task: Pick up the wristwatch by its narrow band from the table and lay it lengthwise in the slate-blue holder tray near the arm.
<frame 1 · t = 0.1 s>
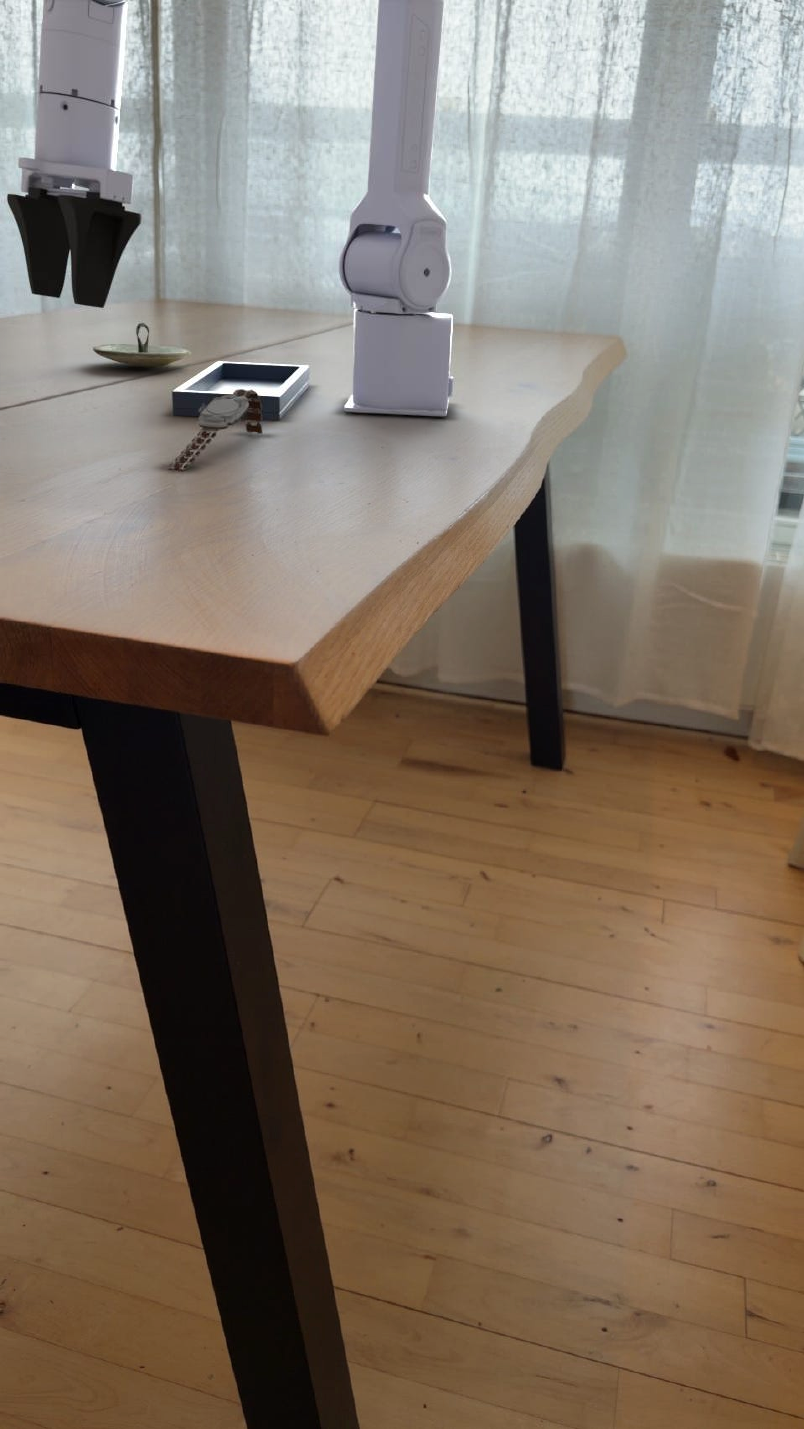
hand: (66, 301, 87), 10 cm above the table, tool pointing down, fingers open, 7 cm apart
wristwatch: (216, 453, 89), on the table
lid: (135, 371, 127), on the table
holder: (246, 399, 110), on the table
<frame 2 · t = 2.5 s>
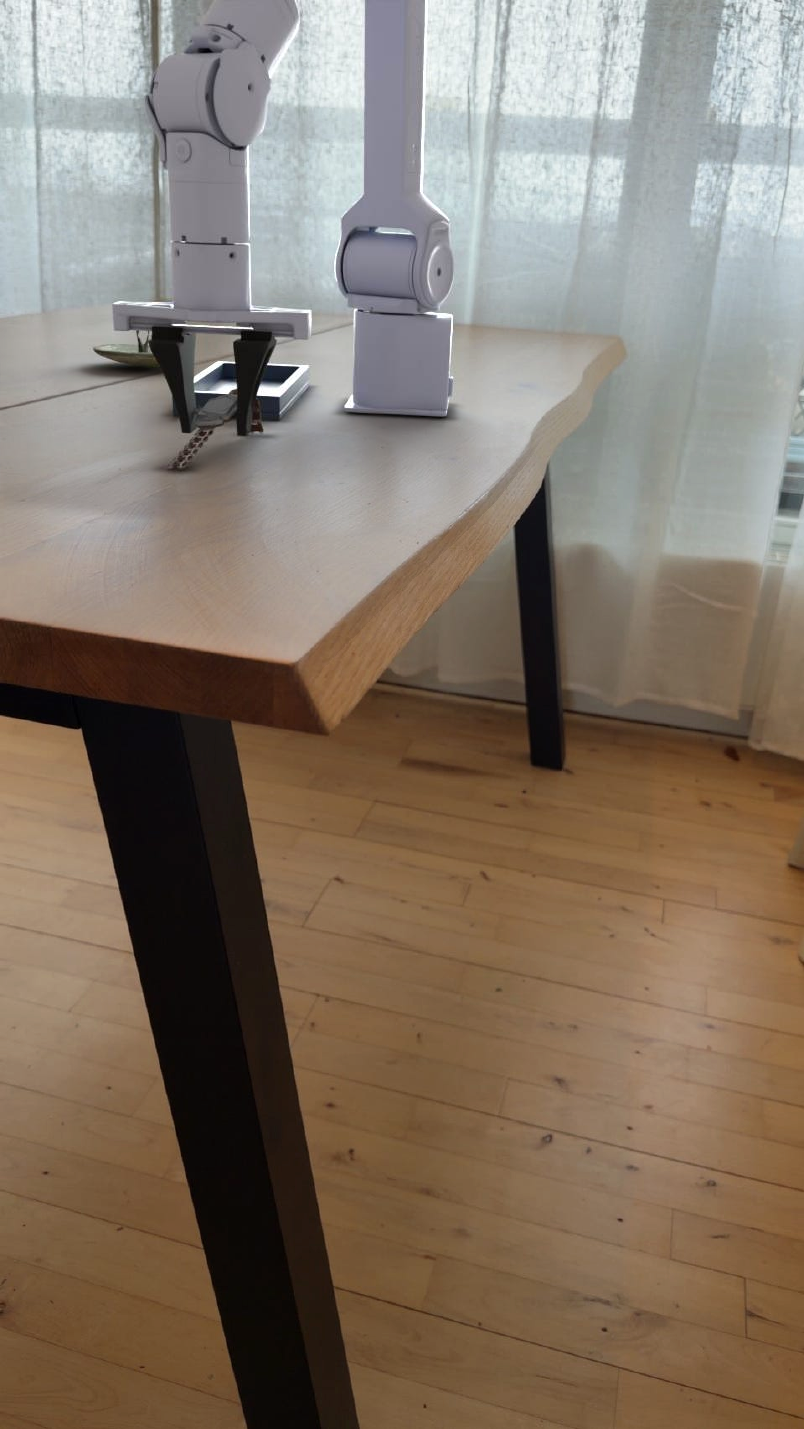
hand: (216, 432, 88), 1 cm above the table, tool pointing down, fingers closed on wristwatch, 4 cm apart
wristwatch: (217, 453, 89), on the table, touching gripper
everything else where it was.
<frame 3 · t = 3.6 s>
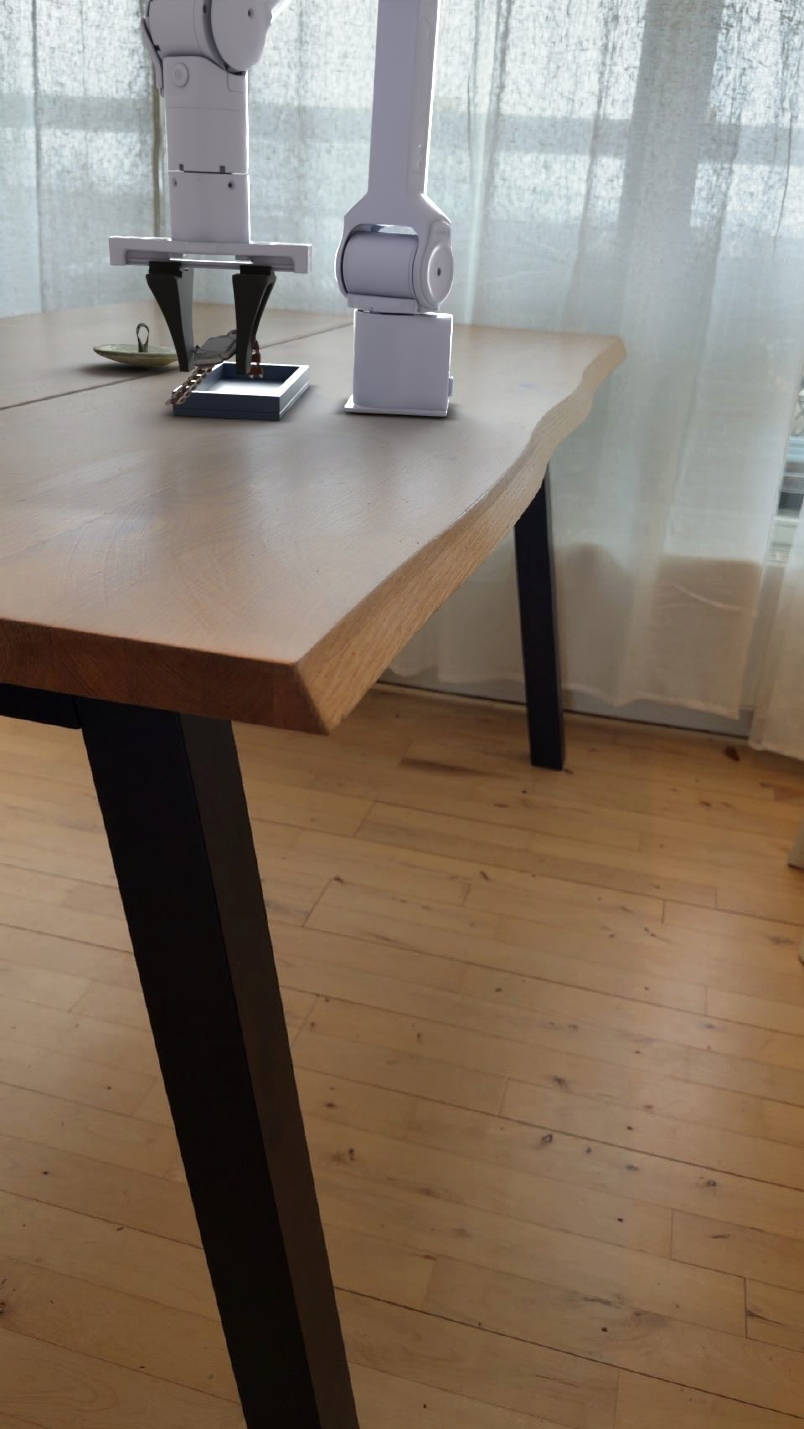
hand: (214, 371, 87), 6 cm above the table, tool pointing down, fingers closed on wristwatch, 4 cm apart
wristwatch: (216, 393, 87), point 4 cm above the table, touching gripper
everything else where it was.
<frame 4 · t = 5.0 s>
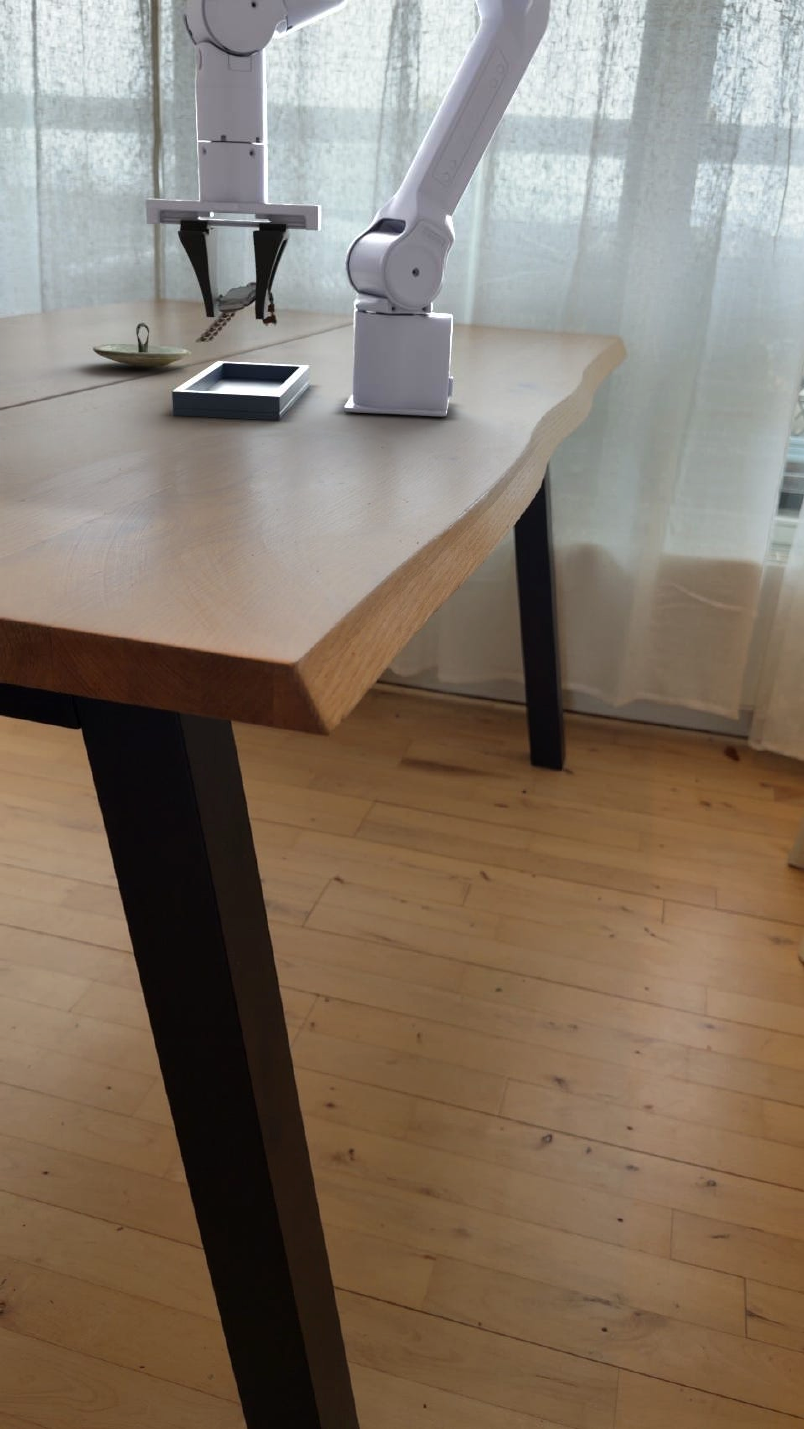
hand: (236, 317, 100), 8 cm above the table, tool pointing down, fingers closed on wristwatch, 4 cm apart
wristwatch: (237, 336, 100), point 7 cm above the table, touching gripper
everything else where it was.
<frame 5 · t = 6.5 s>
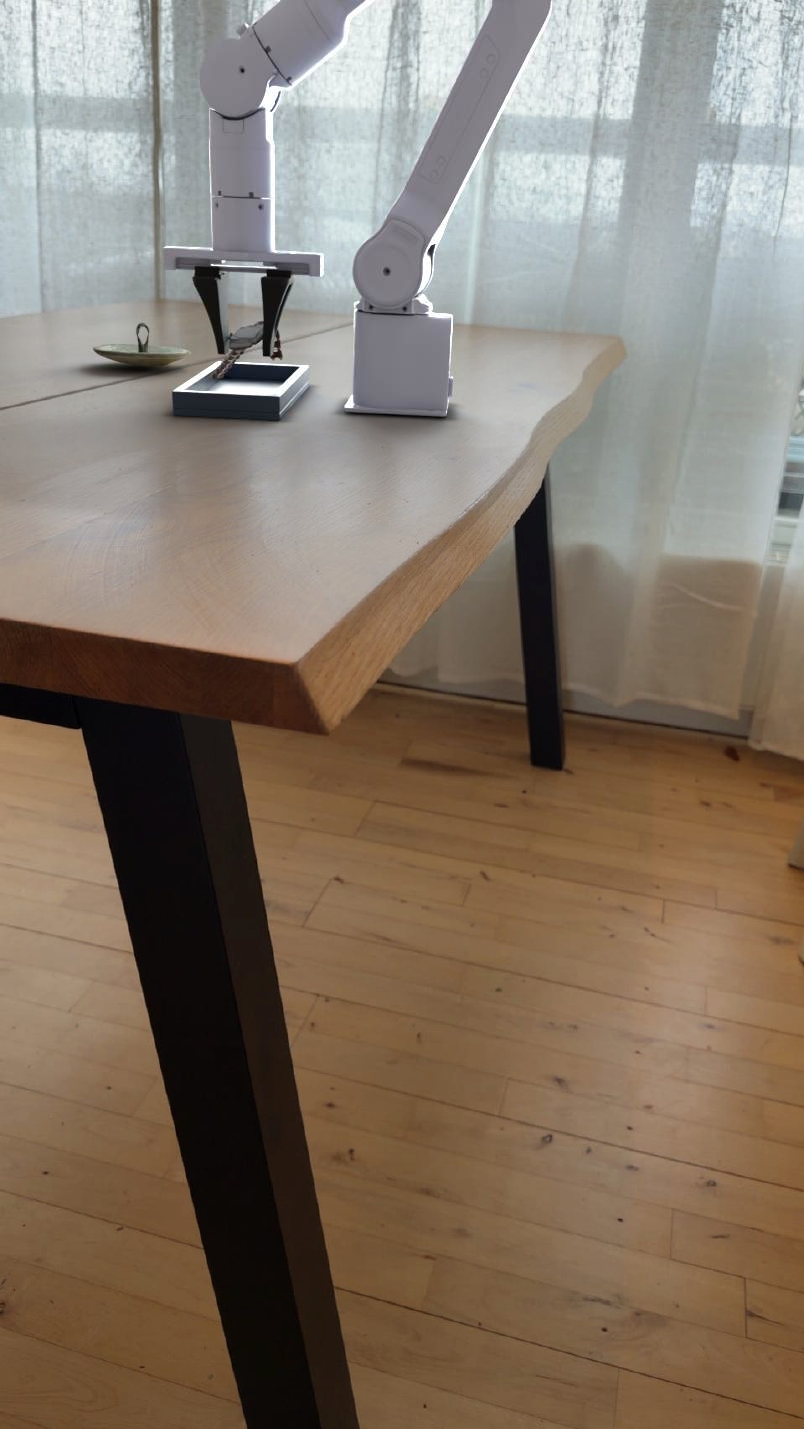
hand: (245, 354, 109), 4 cm above the table, tool pointing down, fingers closed on wristwatch, 4 cm apart
wristwatch: (246, 371, 109), point 3 cm above the table, touching gripper
everything else where it was.
when the fingers open (2 cm above the table, at t = 7.6 s): wristwatch stays where it is, resting on holder.
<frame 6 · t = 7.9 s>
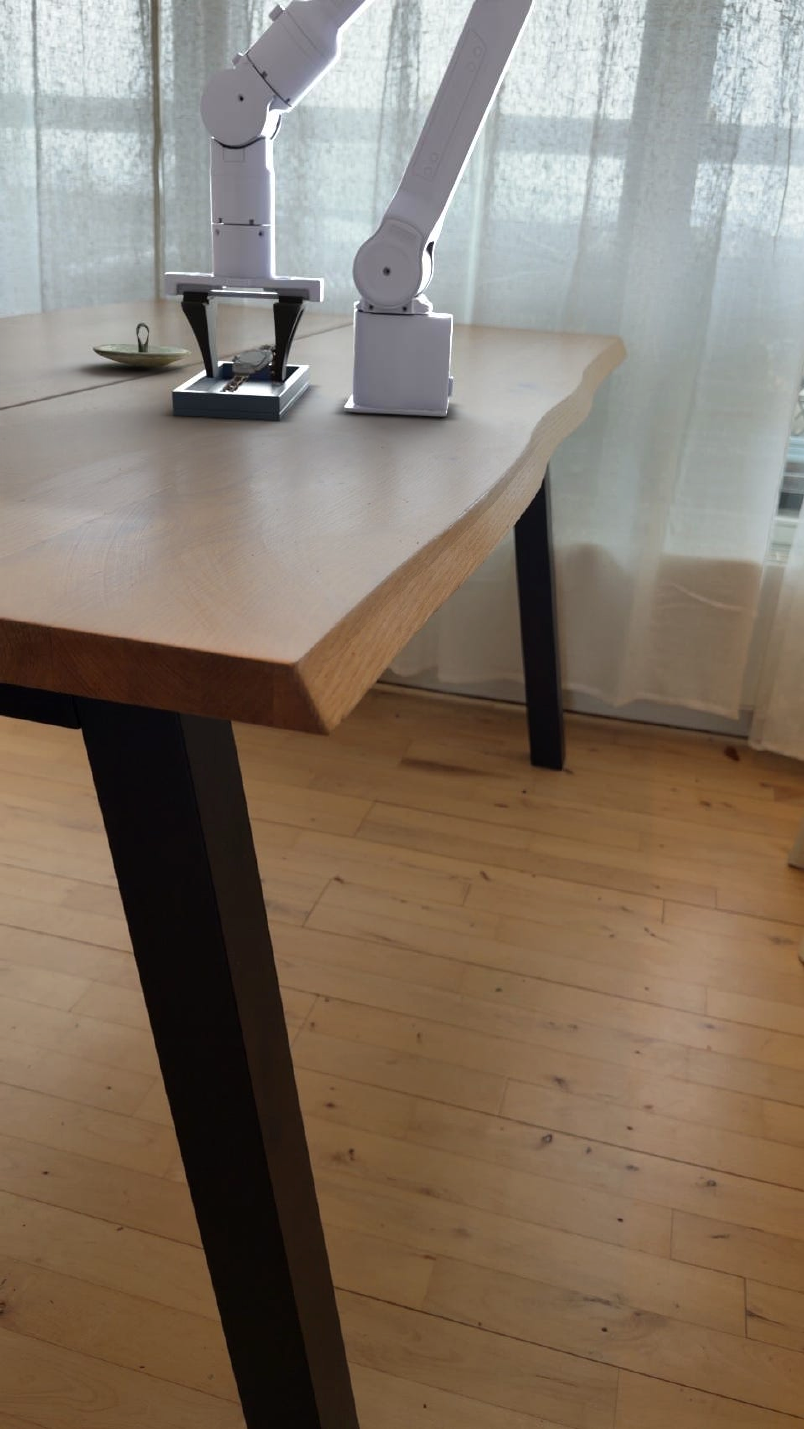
hand: (246, 378, 110), 2 cm above the table, tool pointing down, fingers open, 6 cm apart
wristwatch: (246, 396, 110), resting on holder
everything else where it was.
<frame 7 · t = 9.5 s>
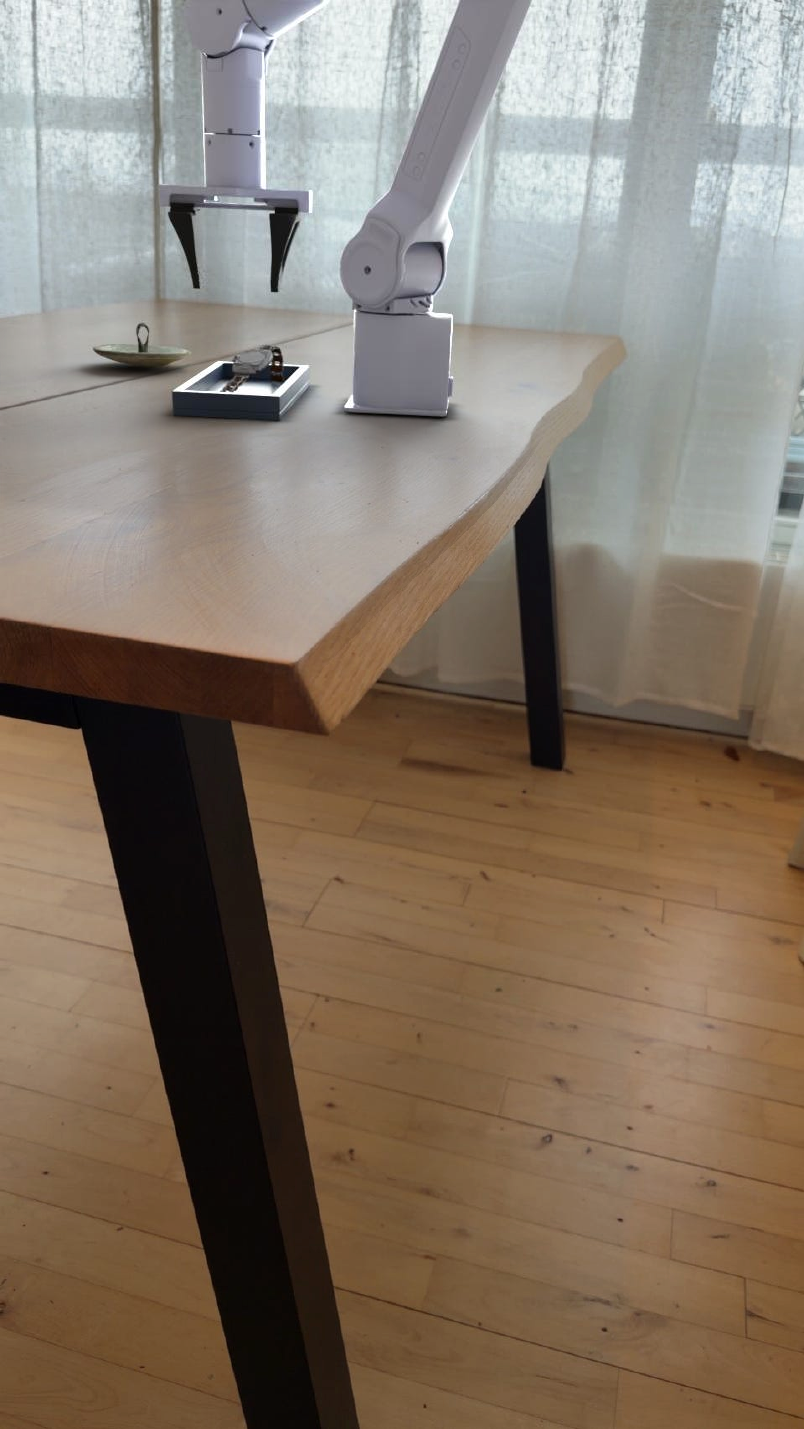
hand: (237, 290, 113), 9 cm above the table, tool pointing down, fingers open, 7 cm apart
nothing on the table moved.
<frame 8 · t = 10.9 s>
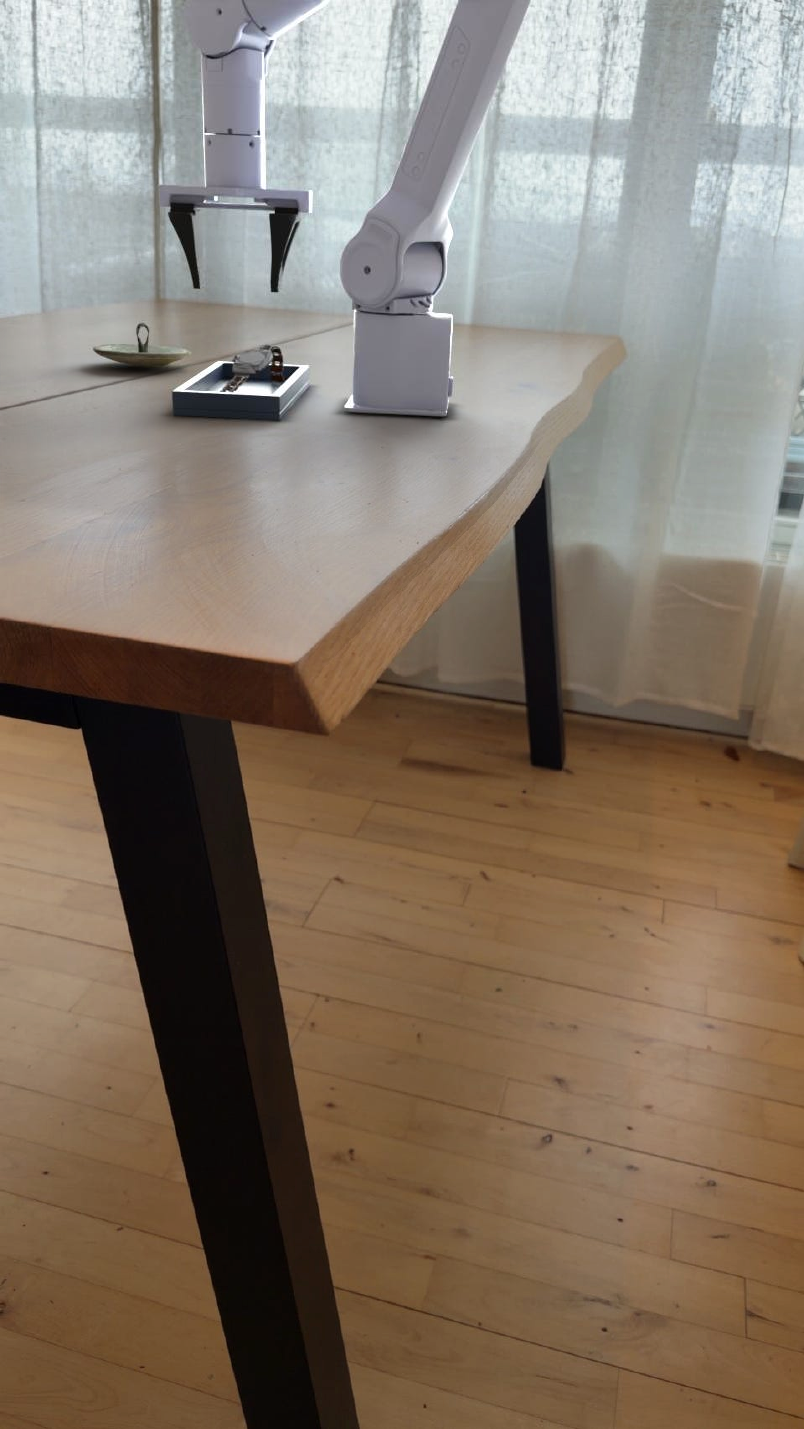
hand: (237, 290, 113), 9 cm above the table, tool pointing down, fingers open, 7 cm apart
nothing on the table moved.
at the end: wristwatch 0.3 cm off-centre in the holder, point 0.4 cm above the holder's base; the gripper is holding nothing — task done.
